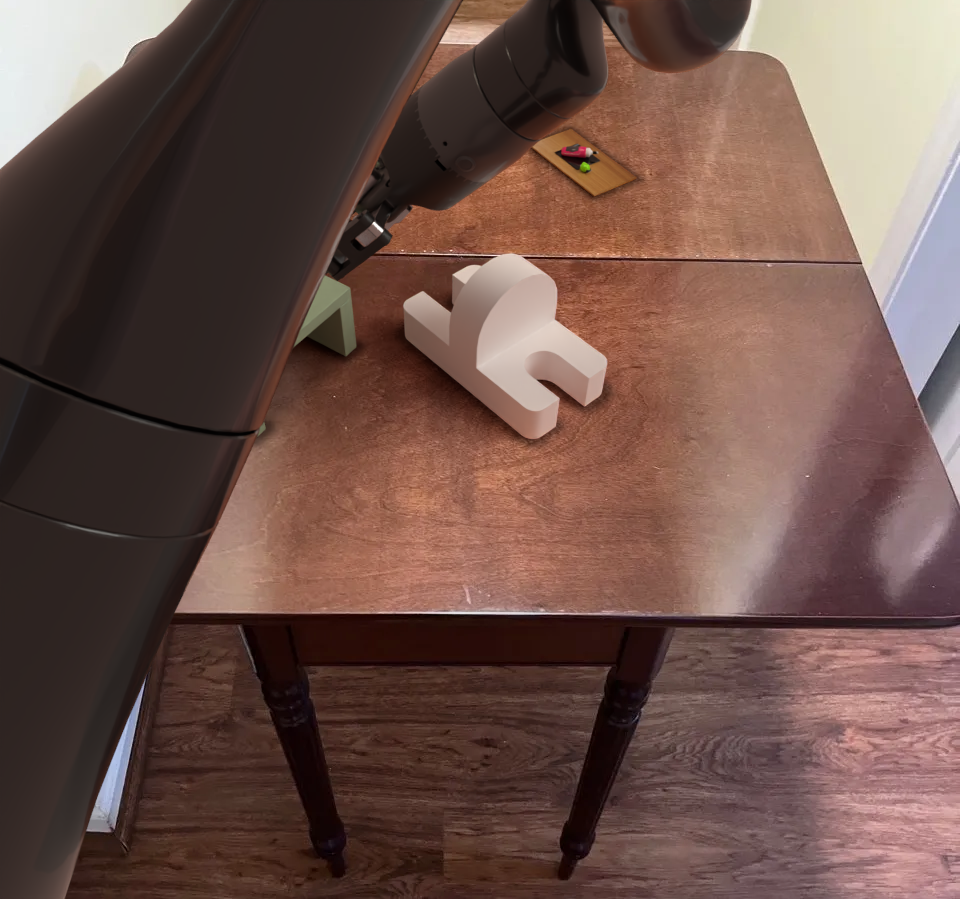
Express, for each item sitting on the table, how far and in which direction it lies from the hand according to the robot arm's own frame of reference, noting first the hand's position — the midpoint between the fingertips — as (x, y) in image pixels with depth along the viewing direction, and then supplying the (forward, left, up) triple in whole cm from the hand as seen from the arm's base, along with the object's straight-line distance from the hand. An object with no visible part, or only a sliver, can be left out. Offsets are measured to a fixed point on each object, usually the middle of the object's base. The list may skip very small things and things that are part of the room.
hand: (318, 239), depth 71 cm
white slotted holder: (+10, -11, -15) cm, 21 cm away
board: (+43, -1, -15) cm, 46 cm away
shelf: (-3, +9, -15) cm, 18 cm away
